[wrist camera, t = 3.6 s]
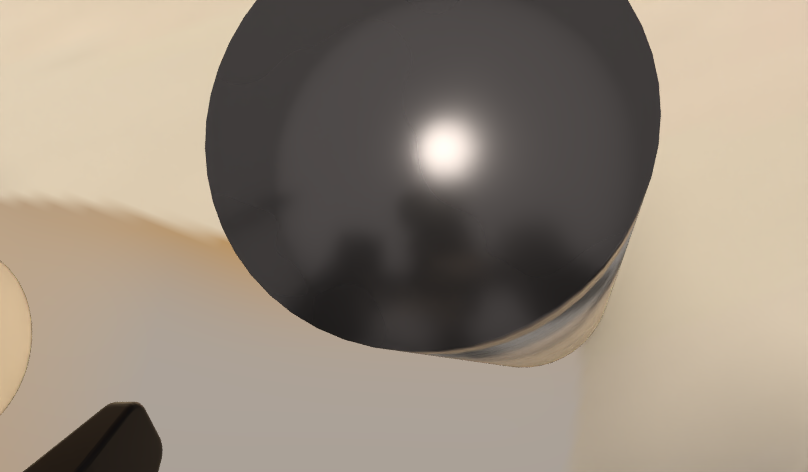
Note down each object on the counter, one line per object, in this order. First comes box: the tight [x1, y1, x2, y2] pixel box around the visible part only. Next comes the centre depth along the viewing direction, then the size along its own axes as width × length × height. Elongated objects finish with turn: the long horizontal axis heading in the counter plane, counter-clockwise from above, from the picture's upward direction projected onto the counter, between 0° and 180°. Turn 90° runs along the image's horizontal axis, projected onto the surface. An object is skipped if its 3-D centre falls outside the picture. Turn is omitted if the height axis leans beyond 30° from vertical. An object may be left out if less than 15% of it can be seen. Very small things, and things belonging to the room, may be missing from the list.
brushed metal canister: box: [205, 0, 661, 367], centre depth 14 cm, size 4×4×13 cm
